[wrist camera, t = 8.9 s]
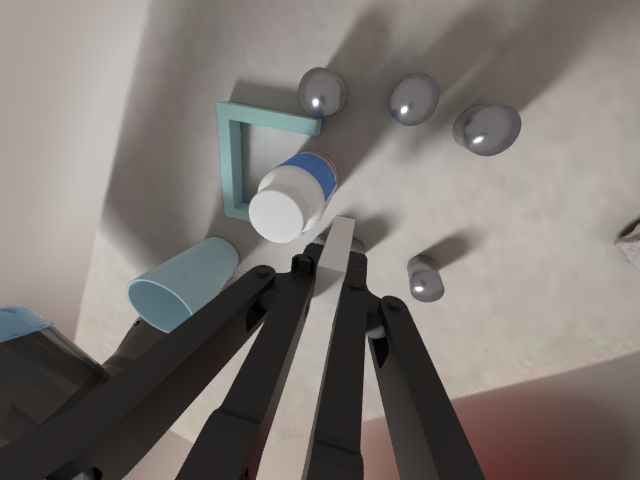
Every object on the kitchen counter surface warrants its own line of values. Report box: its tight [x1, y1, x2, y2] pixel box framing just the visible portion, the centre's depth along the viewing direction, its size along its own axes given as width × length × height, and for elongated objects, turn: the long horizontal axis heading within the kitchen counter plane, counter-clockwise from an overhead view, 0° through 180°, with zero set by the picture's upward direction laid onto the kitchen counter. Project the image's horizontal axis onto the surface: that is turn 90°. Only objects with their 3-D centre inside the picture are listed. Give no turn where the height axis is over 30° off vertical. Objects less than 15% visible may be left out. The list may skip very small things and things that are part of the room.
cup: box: [126, 237, 239, 333], centre depth 28 cm, size 8×8×10 cm
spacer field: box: [298, 67, 521, 302], centre depth 21 cm, size 16×18×4 cm
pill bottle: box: [249, 151, 338, 243], centre depth 20 cm, size 6×5×10 cm
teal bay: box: [215, 102, 322, 235], centre depth 24 cm, size 9×11×2 cm
